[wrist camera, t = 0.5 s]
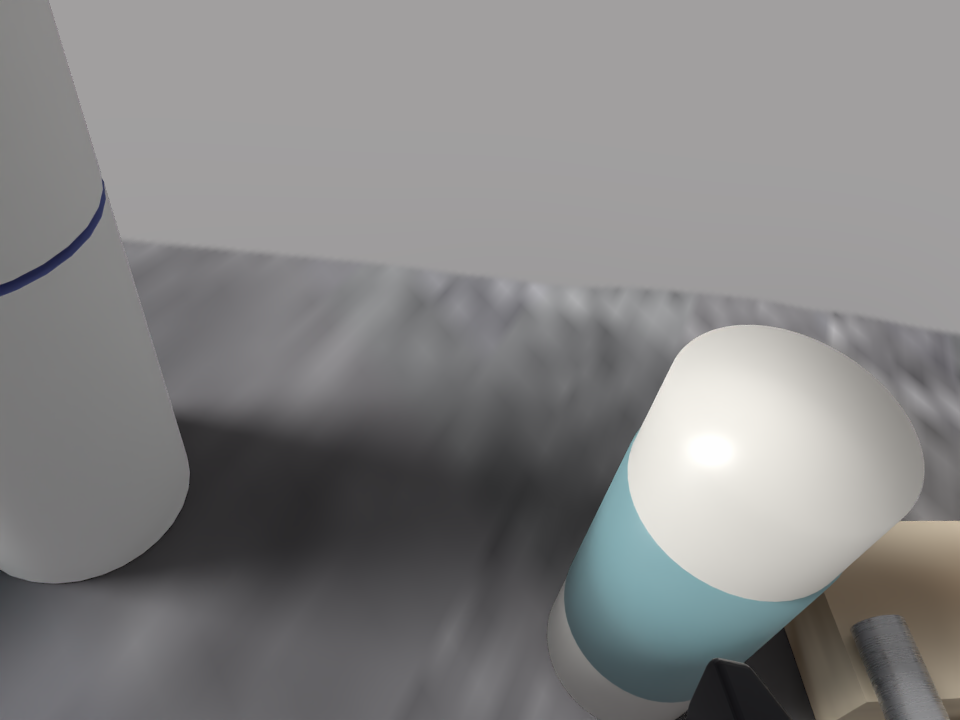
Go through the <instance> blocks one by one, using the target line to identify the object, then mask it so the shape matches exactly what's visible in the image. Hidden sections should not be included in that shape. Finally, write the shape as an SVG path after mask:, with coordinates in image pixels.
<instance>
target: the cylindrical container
mask: <svg viewBox="0 0 960 720" xmlns="http://www.w3.org/2000/svg"><path fill="white" fill-rule="evenodd" d="M189 478H190V469H189V464H188V458H187V454H186V451H185V448H184V444H183V441H182V438H181V434H180V431H179V428H178V425H177V421H176V418H175V415H174V411H173V408H172V405H171V402H170V398H169V395H168V392H167V388H166V385H165V382H164V379H163V375H162V372H161V369H160V365H159V362H158V359H157V356H156V352H155V349H154V346H153V342H152V339H151V336H150V332H149V329H148V326H147V323H146V319H145V316H144V313H143V309H142V306H141V303H140V300H139V296H138V293H137V290H136V286H135V283H134V280H133V276H132V273H131V270H130V267H129V263H128V260H127V257H126V253H125V250H124V247H123V244H122V240H121V237H120V234H119V231H118V227H117V224H116V221H115V218H114V214H113V211H112V208H111V204H110V201H109V198H108V194H107V191H106V188H105V184H104V181H103V180H102V177H101V171H100V168H99V165H98V162H97V158H96V155H95V152H94V148H93V145H92V142H91V138H90V135H89V132H88V128H87V125H86V122H85V118H84V115H83V112H82V109H81V106H80V103H79V99H78V96H77V92H76V89H75V86H74V82H73V79H72V76H71V73H70V69H69V66H68V63H67V59H66V56H65V53H64V49H63V47H62V43H61V40H60V36H59V33H58V30H57V26H56V23H55V20H54V17H53V13H52V10H51V7H50V3H49V0H0V570H2V571H4V572H5V573H7V574H9V575H11V576H13V577H17V578H20V579H24V580H27V581H31V582H39V583H53V584H58V583H67V582H76V581H82V580H86V579H89V578H93V577H97V576H100V575H103V574H106V573H108V572H110V571H113V570H115V569H117V568H119V567H122V566H124V565H125V564H127V563H129V562H130V561H132V560H134V559H135V558H137V557H138V556H140V555H142V554H143V553H144V552H145V551H146V550H148V549H149V548H150V547H151V546H152V545H154V544H155V543H156V542H157V541H158V540H159V539H160V538H161V537H162V536H163V535H164V533H165V532H166V531H167V530H168V529H169V528H170V527H171V525H172V524H173V523H174V521H175V519H176V517H177V516H178V514H179V512H180V511H181V509H182V507H183V505H184V501H185V498H186V495H187V492H188V489H189Z"/></svg>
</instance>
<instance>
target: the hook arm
mask: <svg viewBox="0 0 960 720" xmlns="http://www.w3.org/2000/svg"><path fill="white" fill-rule="evenodd" d="M850 632H851V634H852V637H853V639H854V642H855V644H856V647H857V649H858V652H859V654H860V657H861V659H862V662H863V664H864V667H865V669H866V672H867V674H868V677H869V679H870V682H871V684H872V687H873V689H874V692H875V694H876V697H877V699H878V702H879V704H880V707H881V709H882V712H883V714H884V717H885V719H886V720H950V718H949V716H948V714H947V711H946V709H945V707H944V705H943V702H942V700H941V698H940V696H939V694H938V691H937V689H936V687H935V685H934V683H933V680H932V678H931V676H930V674H929V672H928V669H927V667H926V665H925V663H924V660H923V658H922V656H921V654H920V652H919V649H918V647H917V645H916V643H915V641H914V638H913V636H912V634H911V632H910V629H909V627H908V625H907V623H906V621H905V618H904V617H903V616H900V615H882V616H876V617H872V618H868V619H865V620H863V621H860V622H858V623H856V624H855V625H853V626H852V627H851V629H850Z"/></svg>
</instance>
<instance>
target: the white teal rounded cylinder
mask: <svg viewBox="0 0 960 720" xmlns="http://www.w3.org/2000/svg"><path fill="white" fill-rule="evenodd" d="M924 475H925V474H924V458H923V452H922V447H921V444H920V442H919V439H918V436H917V433H916V431H915V429H914V427H913V425H912V423H911V421H910V419H909V418H908V416H907V414H906V413H905V411H904V410H903V408H902V407H901V405H900V404H899V403H898V402H897V400H896V399H895V398H894V396H893V395H892V394H891V393H890V392H889V391H888V390H887V389H886V388H885V387H884V386H883V384H882V383H881V382H879V381H878V380H877V379H876V378H875V377H874V376H873V375H872V374H871V373H869V372H868V371H867V370H866V369H864V368H863V367H862V366H860V365H859V364H858V363H856V362H855V361H853V360H852V359H850V358H849V357H847V356H846V355H844V354H843V353H841V352H839V351H837V350H836V349H834V348H832V347H830V346H828V345H826V344H824V343H822V342H820V341H817V340H815V339H813V338H810V337H807V336H805V335H802V334H799V333H796V332H792V331H789V330H785V329H781V328H775V327H770V326H760V325H736V326H727V327H723V328H719V329H715V330H712V331H709V332H707V333H704V334H702V335H700V336H699V337H697V338H695V339H694V340H692V341H691V342H690V343H688V344H687V345H686V346H685V347H684V348H683V349H682V350H681V351H680V353H679V354H678V355H677V356H676V358H675V360H674V362H673V364H672V366H671V368H670V370H669V372H668V374H667V376H666V378H665V380H664V382H663V384H662V386H661V388H660V390H659V392H658V394H657V396H656V398H655V400H654V402H653V404H652V406H651V408H650V410H649V412H648V414H647V416H646V418H645V420H644V422H643V424H642V426H641V428H640V429H639V430H638V431H637V433H636V434H635V436H634V438H633V440H632V442H631V444H630V446H629V448H628V450H627V452H626V454H625V456H624V458H623V460H622V462H621V464H620V466H619V468H618V470H617V472H616V474H615V476H614V479H613V481H612V483H611V485H610V487H609V489H608V491H607V493H606V495H605V497H604V499H603V501H602V503H601V505H600V507H599V509H598V511H597V513H596V515H595V517H594V519H593V521H592V523H591V525H590V527H589V529H588V531H587V533H586V536H585V538H584V540H583V542H582V544H581V546H580V548H579V550H578V552H577V554H576V556H575V558H574V560H573V562H572V564H571V566H570V569H569V571H568V574H567V577H566V580H565V582H564V584H563V586H562V588H561V590H560V592H559V594H558V596H557V598H556V600H555V602H554V604H553V606H552V609H551V612H550V615H549V620H548V625H547V645H548V650H549V656H550V659H551V662H552V665H553V668H554V670H555V672H556V674H557V676H558V678H559V680H560V682H561V683H562V685H563V687H564V688H565V689H566V691H567V692H568V693H569V694H570V696H571V697H572V698H573V699H574V700H575V701H576V702H577V703H578V704H579V705H580V706H581V707H582V708H584V709H585V710H586V711H587V712H589V713H590V714H592V715H593V716H595V717H596V718H598V719H600V720H675V719H677V718H678V717H680V716H681V715H682V714H683V713H685V712H686V711H687V710H688V707H689V704H690V701H691V699H692V697H693V694H694V692H695V690H696V688H697V686H698V684H699V681H700V679H701V677H702V675H703V673H704V670H705V668H706V666H707V664H708V663H709V661H711V660H712V659H713V658H722V659H727V660H732V661H736V662H741V663H744V662H745V661H746V660H747V659H748V658H749V657H751V656H752V655H753V654H754V653H755V652H756V651H757V650H759V649H760V648H761V647H762V646H763V645H764V644H765V643H766V642H768V641H769V640H770V639H771V638H772V637H773V636H774V635H776V634H777V633H778V632H779V631H780V630H781V629H782V628H783V627H785V626H786V625H787V624H788V623H789V622H790V621H791V620H793V619H794V618H795V617H796V616H797V615H798V614H799V613H800V612H802V611H803V610H804V609H805V608H806V607H807V606H808V605H809V604H811V603H812V602H813V601H814V600H815V599H816V598H817V597H819V596H820V595H821V594H822V593H823V592H824V591H825V590H826V589H828V588H829V587H830V586H831V585H832V584H833V583H834V582H835V581H836V580H837V579H838V578H839V577H840V575H841V574H842V572H843V571H844V570H845V569H846V568H847V567H848V566H850V565H851V564H852V563H853V562H854V561H855V560H856V559H857V558H859V557H860V556H861V555H862V554H863V553H864V552H865V551H866V550H868V549H869V548H870V547H871V546H872V545H873V544H874V543H875V542H877V541H878V540H879V539H880V538H881V537H882V536H883V535H884V534H886V533H887V532H888V531H889V530H890V529H891V528H892V527H893V526H895V525H896V524H897V523H898V522H899V521H900V520H901V519H902V518H903V517H904V516H905V515H906V514H907V513H908V512H909V511H910V510H911V509H912V508H913V506H914V505H915V503H916V502H917V500H918V498H919V495H920V493H921V490H922V487H923V481H924Z"/></svg>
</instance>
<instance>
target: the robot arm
mask: <svg viewBox="0 0 960 720" xmlns="http://www.w3.org/2000/svg"><path fill="white" fill-rule="evenodd" d="M687 720H792V719H791V717H790V716H789V715H788V714H787V712H786V711H785V710H784V708H783V707H782V706H781V705H780V703H779V702H778V701H777V700H776V698H775V697H774V696H773V694H772V693H771V692H770V691H769V689H768V688H767V687H766V686H765V684H764V683H763V682H762V680H761V679H760V678H759V677H758V675H757V674H756V673H755V672H754V670H753V669H752V668H751V667H749V666H748V665H747V664H745V663H741V662H736V661H732V660H727V659H722V658H713V659H712V660H711V661H709V663H708V664H707V666H706V668H705V670H704V673H703V675H702V677H701V679H700V681H699V684H698V686H697V688H696V690H695V692H694V694H693V697H692V699H691V701H690V704H689V707H688V712H687Z"/></svg>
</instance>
